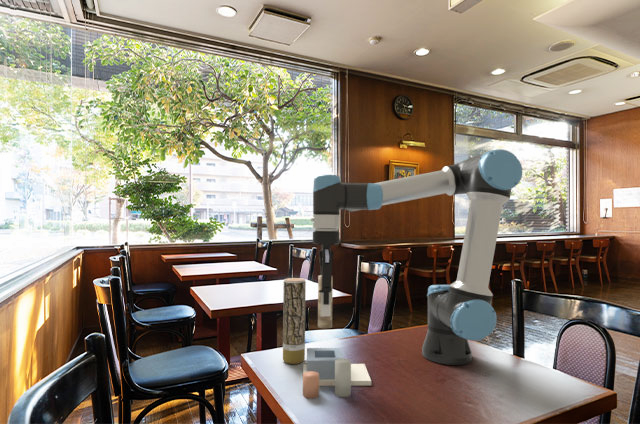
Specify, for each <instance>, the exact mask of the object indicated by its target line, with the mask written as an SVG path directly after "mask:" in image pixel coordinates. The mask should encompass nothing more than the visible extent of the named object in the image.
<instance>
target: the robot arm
mask: <svg viewBox="0 0 640 424" xmlns="http://www.w3.org/2000/svg"><path fill="white" fill-rule="evenodd" d="M522 178H523V167H522V163H521V161H520V160H519V159H518V157H517V156H516V155H515V153H513V152H511V151H509V150H507V149H500V148H499V149H498V148H497V149H493V150H491V149H490V150H487V151H485V152H484V153H482V154H478V155H475V156H471V157H469V158H467V159H465V160H463V161H461V162H458V163H454V164H451V165H447V166H446V165H445V166H444V167H442V169H441V170H437V171H431V172H427V173H420V174H417V175H411V176H405V177H399V178H394V179H389V180H385V181H380V182H379V181H378V182H375V183H371V182H368V183H367V182H359V183H358V182H352V183H351V182H341V177H340V176H339V175H336V174H319V175H316V176H315V177H314V178H313V189H312V214H313V215H312V217H311V218H310V221H311V222H312V228H313V229H314V230H313V232H312V243H313V244H314V245H321V249H320V250H318V258H319V261H318V262H319V267H320V275H322V289H321V290H319V292H321V316H331V291H332V292H333V287H332V288H331V276H333V275H332V274H333V273H332V271H333V270H332V267H333V262H334V261H333V257H334V250H331V249H332V248H331V247H332V245H333V246H335V245H339V244H340V231H338V230H340V228H341V215H340V214H341V213H340V212H341V211H340V210H347V211H348V212H351V213H352V212H357V211H362V210H365V211H367V210H368V211H373V210H380V209H381V208H382V206H386V205H391V204H398V203H402V202H409V201H413V200H418V199H424V198H428V197H429V198H430V197H434V196H438V195H444V194H446V195H447V196H450V197H451V196H455V195H463V194H464V195H465V194H466V196H467V198H469V200H470V203H469V209H468V215H467V221H466V227H465V231H464V236H463V243H462V248H461V253H460V258H459V265H458V271H457V277H456V280H455V281H453V282H452V283H450V284H432V285H430V286H428V288H427V294H426V297H427V332H426V335H425V338H424V341H423V342H422V343H423V344H422V347H421V351H422V352H421V355H422V356H423V357H424V358H425V359H426V360H428V361H430V362H433V363H438V364H443V365H449V366H461V365H467V364H470V363H471V362H473V361H472V359H473V356H472V355H473V354H472V350H471V347H470V343H469V341H471V342H472V341H473V342H475V341H481V340H483V339H486V337H488V336H490V335H491V334H492V333H493V331H494V330H495V328H496V325H497V319H498V318H497V313H496V311H495V309H494V307H493V306H492V300H493V297H494V294H493V292H492V291H491V290H490V289H489V285H490V277H491V272H492V267H493V262H494V256H495V250H496V244H497V239H498V233H499V227H500V222H501V217H502V211H503V206H504V205H505V204H506V203H508V202H509V201H510V199H511V193H512V189H513V188H515V187H516V186H517V185H518V184H519V183H520V182H521V180H522Z"/></svg>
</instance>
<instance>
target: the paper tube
mask: <svg viewBox="0 0 640 424" xmlns="http://www.w3.org/2000/svg"><path fill="white" fill-rule="evenodd" d="M306 281H307V280H306V279H305V278H302V277H287V278H284V279H283V296H282V297H283V301H282V302H283V304H282V305H283V308H282V310H283V312H282V313H283V314H282V315H283V316H282V318H283V319H282V361H283V362H284V363H285V364H289V365H297V364H298V365H299V364H300V363H303V362H304V361H305V359H306V357H305V354H306V351H305V349H306V286H307V284H306Z"/></svg>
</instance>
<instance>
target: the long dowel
mask: <svg viewBox="0 0 640 424" xmlns="http://www.w3.org/2000/svg"><path fill="white" fill-rule="evenodd" d="M317 279H318V282H317V328H319V329H331V328H333V290H332V291H331V316H321V292H319V290H321V289H322V275H321V274H320V275H318V276H317ZM333 280H334V279H333V275H332V276H331V288H332V289H333V282H334V281H333Z"/></svg>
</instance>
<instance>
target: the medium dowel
mask: <svg viewBox="0 0 640 424" xmlns="http://www.w3.org/2000/svg"><path fill="white" fill-rule="evenodd" d="M351 364H352V360H351V359H350V358H349V359H348V358H345V357H344V358H341V359H337V360H335V386H334V395H335V396H337V397H339V398H347V397H350V396H351V395H352V394H351V393H352V392H351V391H352V386H351Z"/></svg>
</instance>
